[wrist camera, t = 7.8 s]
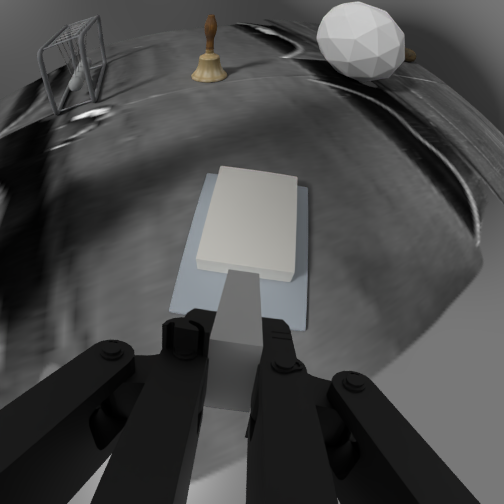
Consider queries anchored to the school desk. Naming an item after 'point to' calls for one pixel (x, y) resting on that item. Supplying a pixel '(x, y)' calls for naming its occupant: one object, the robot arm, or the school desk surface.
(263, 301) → the mat
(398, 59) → the geometric polyhedron
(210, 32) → the hand bell
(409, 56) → the brown hollow tube
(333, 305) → the school desk surface
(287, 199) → the tile
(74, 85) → the newton's cradle
